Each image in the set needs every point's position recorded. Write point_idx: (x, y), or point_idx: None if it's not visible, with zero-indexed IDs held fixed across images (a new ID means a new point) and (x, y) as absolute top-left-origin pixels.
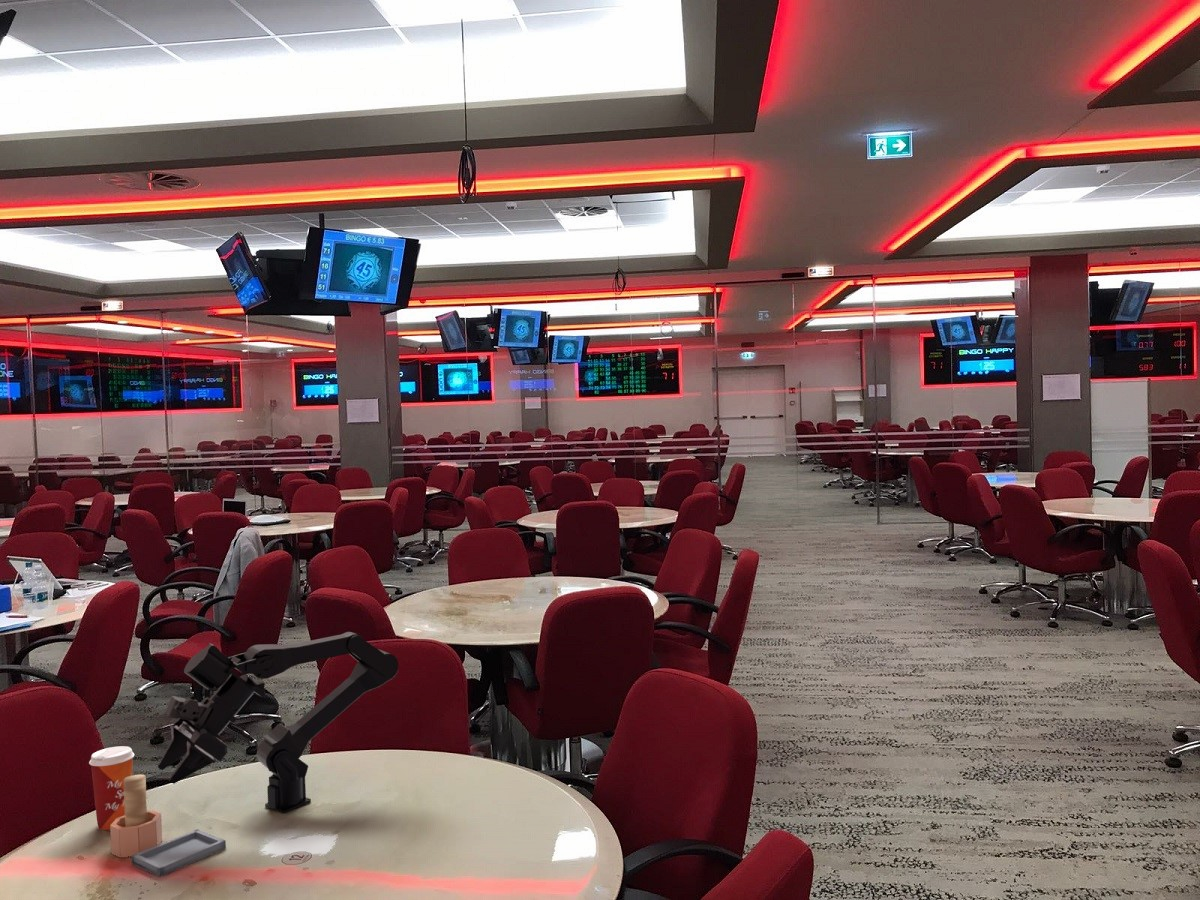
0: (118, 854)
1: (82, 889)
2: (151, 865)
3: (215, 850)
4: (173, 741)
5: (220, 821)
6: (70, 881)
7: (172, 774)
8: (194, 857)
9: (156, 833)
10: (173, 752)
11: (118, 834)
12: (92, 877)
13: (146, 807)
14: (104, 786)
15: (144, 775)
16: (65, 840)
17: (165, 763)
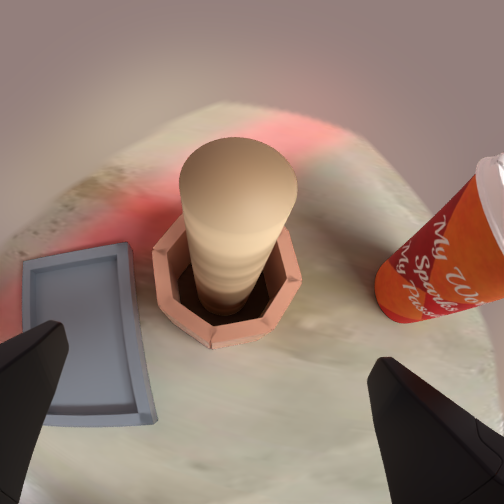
0: None
1: (113, 160)
2: (49, 256)
3: None
4: (488, 479)
5: (223, 494)
6: (164, 154)
7: (39, 337)
8: None
9: (167, 316)
10: (423, 462)
11: None
12: (144, 181)
13: (211, 285)
14: (438, 214)
15: (240, 230)
16: (376, 200)
17: (383, 402)
